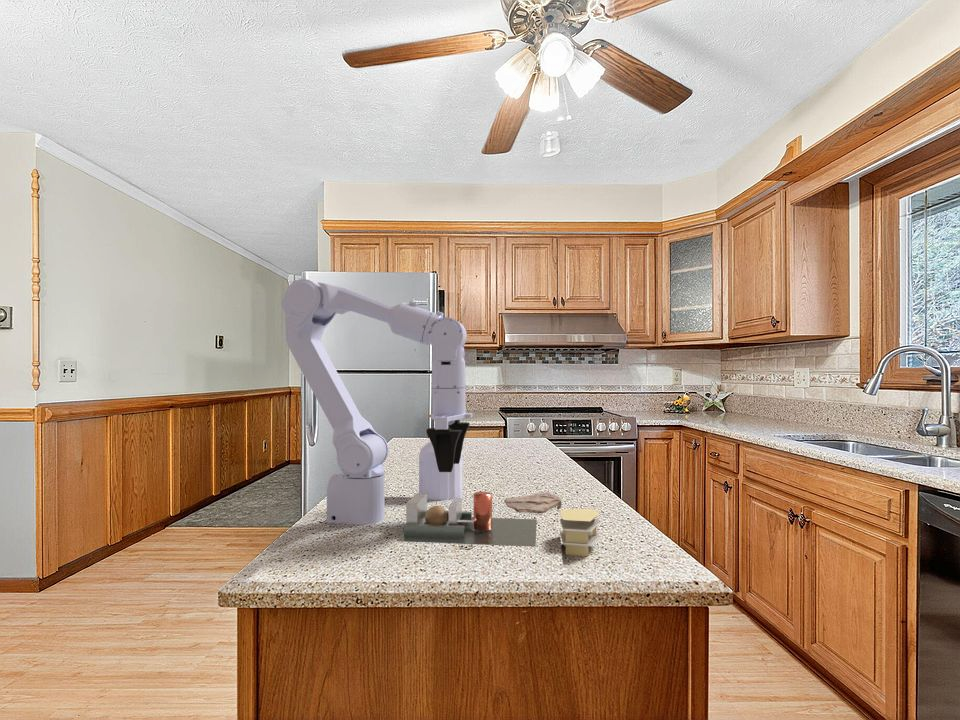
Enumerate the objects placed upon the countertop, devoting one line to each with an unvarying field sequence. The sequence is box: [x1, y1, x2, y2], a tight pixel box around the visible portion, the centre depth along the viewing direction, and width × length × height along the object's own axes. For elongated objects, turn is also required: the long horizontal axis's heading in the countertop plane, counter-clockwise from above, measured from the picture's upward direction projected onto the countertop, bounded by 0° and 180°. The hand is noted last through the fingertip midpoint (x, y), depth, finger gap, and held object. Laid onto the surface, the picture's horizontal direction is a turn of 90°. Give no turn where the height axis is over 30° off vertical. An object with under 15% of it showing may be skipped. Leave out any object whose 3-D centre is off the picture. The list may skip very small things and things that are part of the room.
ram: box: [448, 491, 493, 531], centre depth 86 cm, size 7×6×6 cm
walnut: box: [425, 505, 447, 525], centre depth 86 cm, size 4×4×4 cm
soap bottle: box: [418, 414, 463, 501], centre depth 110 cm, size 9×9×25 cm
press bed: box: [396, 492, 538, 548], centre depth 86 cm, size 21×14×6 cm, turn 83°
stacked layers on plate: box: [559, 508, 600, 557], centre depth 80 cm, size 10×9×6 cm
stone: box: [504, 492, 563, 514], centre depth 101 cm, size 11×12×3 cm
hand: (449, 467), depth 90 cm, fingers open, 7 cm apart
